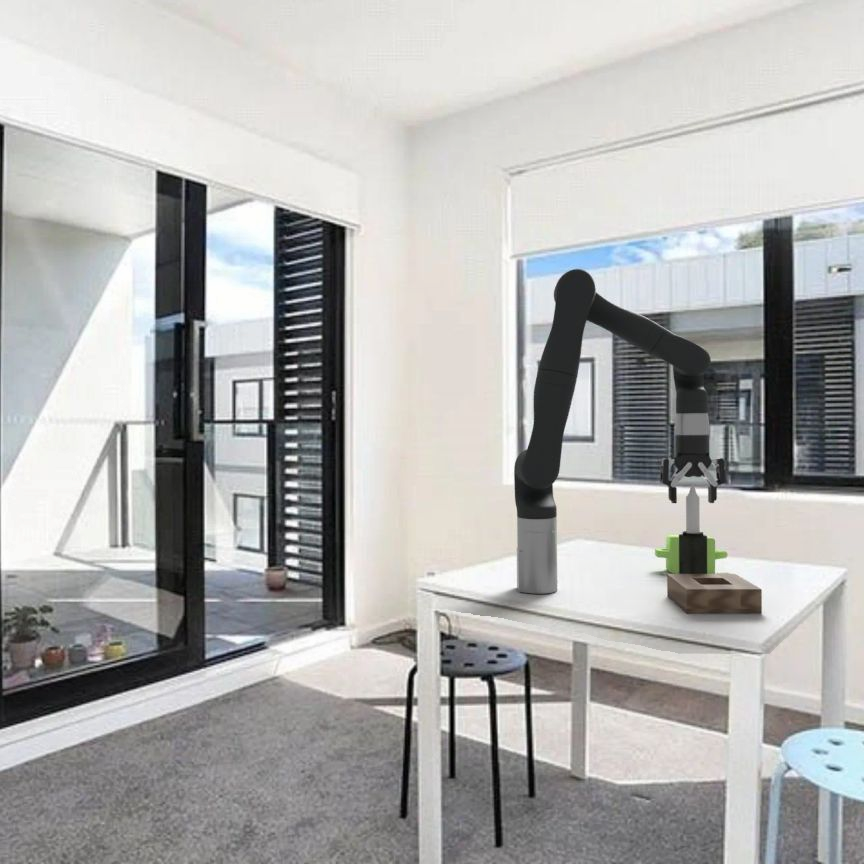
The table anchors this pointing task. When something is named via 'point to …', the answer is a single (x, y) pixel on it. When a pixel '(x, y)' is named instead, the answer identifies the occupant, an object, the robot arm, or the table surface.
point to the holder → (714, 593)
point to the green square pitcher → (673, 554)
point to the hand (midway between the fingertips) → (692, 502)
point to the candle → (692, 539)
